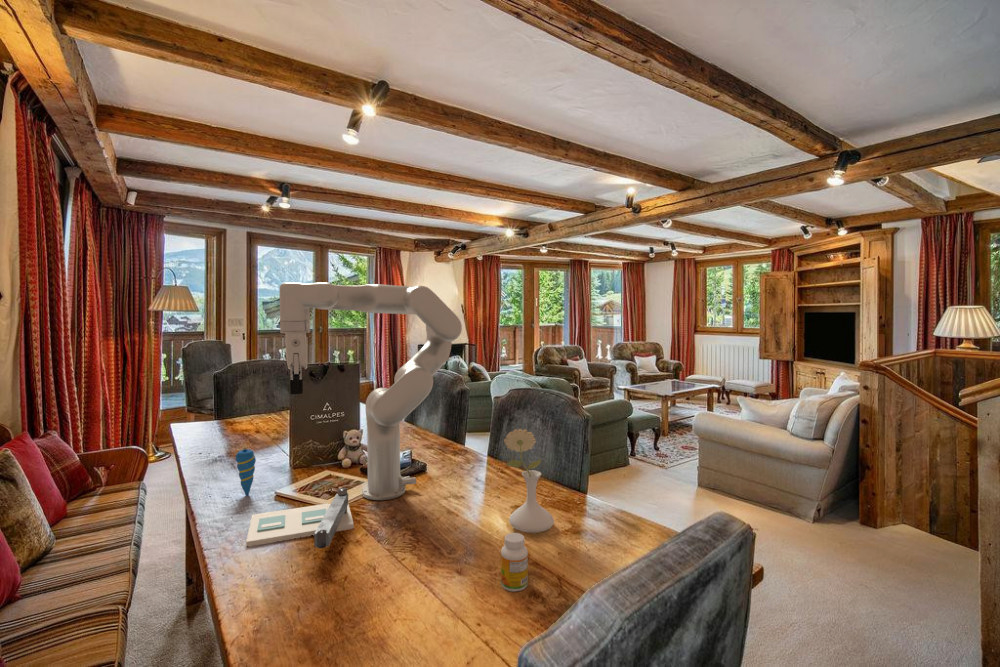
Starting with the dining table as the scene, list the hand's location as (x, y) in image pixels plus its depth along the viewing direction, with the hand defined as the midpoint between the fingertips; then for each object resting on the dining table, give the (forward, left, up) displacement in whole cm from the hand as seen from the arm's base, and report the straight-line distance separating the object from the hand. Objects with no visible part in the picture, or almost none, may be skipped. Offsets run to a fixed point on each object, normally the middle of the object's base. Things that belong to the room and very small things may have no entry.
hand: (296, 393), depth 133 cm
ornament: (+14, -14, -32) cm, 38 cm away
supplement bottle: (-40, +58, -32) cm, 78 cm away
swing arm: (-8, +23, -30) cm, 39 cm away
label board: (-1, +12, -32) cm, 34 cm away
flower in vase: (-54, +36, -32) cm, 72 cm away
